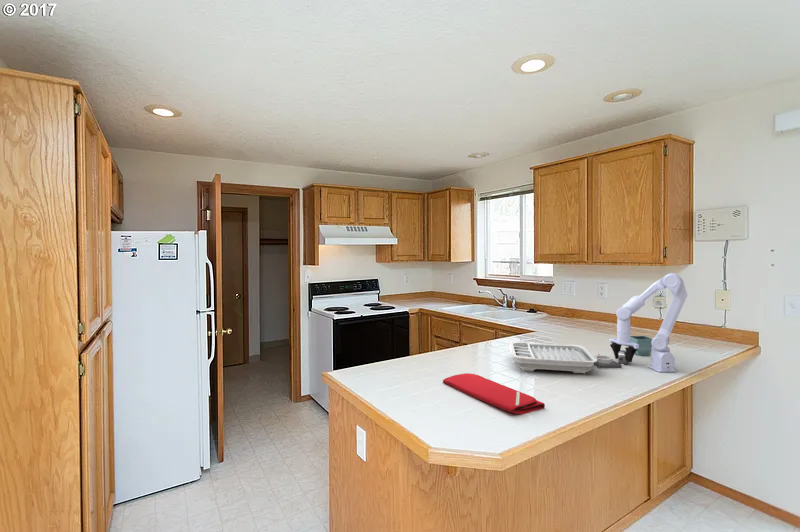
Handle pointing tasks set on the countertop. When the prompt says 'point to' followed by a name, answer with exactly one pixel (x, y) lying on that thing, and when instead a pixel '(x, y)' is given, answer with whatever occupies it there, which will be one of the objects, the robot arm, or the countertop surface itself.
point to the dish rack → (552, 357)
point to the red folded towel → (494, 393)
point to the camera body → (606, 362)
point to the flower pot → (642, 344)
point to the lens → (622, 357)
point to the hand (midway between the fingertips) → (623, 360)
